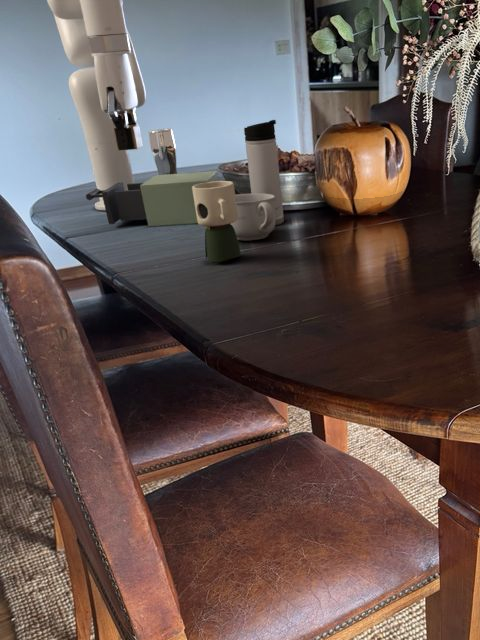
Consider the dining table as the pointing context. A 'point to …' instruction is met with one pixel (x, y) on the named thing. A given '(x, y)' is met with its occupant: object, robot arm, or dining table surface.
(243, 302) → the dining table surface
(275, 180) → the travel mug
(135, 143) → the block
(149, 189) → the cabinet
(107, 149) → the robot arm
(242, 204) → the teacup
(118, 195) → the drawer
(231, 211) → the character mug
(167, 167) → the beer glass
